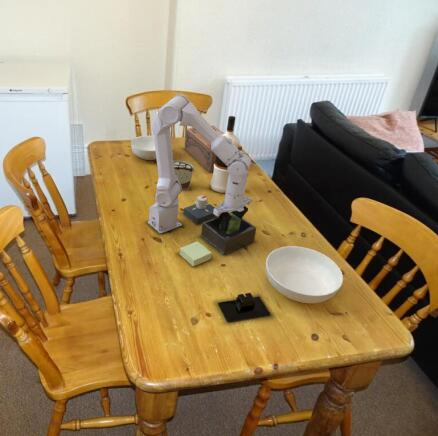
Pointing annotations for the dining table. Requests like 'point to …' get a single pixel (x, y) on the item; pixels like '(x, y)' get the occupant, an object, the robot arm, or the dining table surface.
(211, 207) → the rotary dial base
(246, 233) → the black storage bin
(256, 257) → the dining table surface
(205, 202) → the dial knob
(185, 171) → the food container
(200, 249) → the mint block
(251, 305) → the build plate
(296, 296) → the serving bowl
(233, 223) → the cube
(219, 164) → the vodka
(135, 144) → the cereal bowl
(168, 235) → the dining table surface
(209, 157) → the tissue box cover
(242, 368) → the dining table surface
